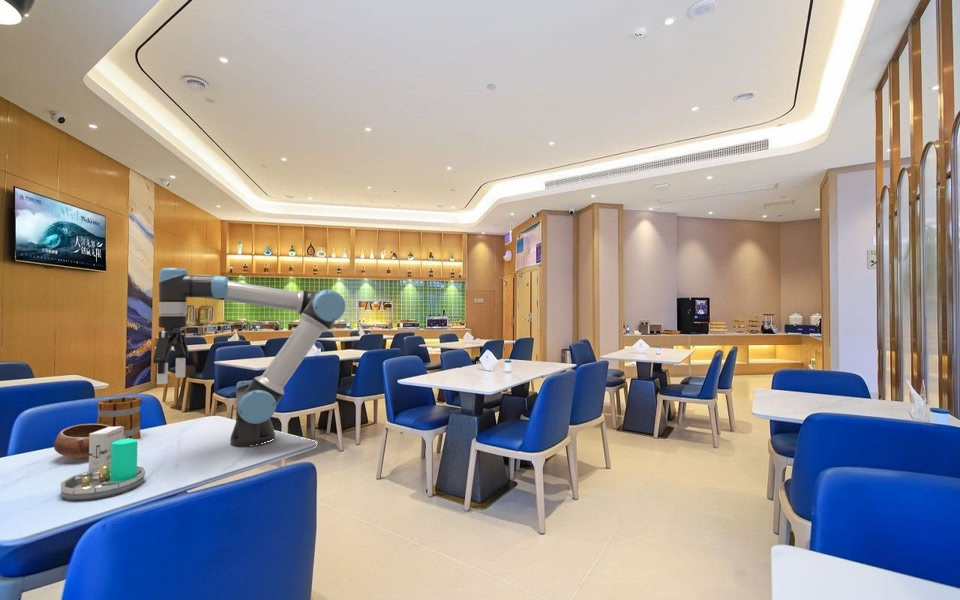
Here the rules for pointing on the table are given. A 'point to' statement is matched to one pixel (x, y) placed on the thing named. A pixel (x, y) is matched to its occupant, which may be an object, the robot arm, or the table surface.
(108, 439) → the ink box
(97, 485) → the carrier
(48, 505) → the table surface
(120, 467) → the candle
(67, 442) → the bowl
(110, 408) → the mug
